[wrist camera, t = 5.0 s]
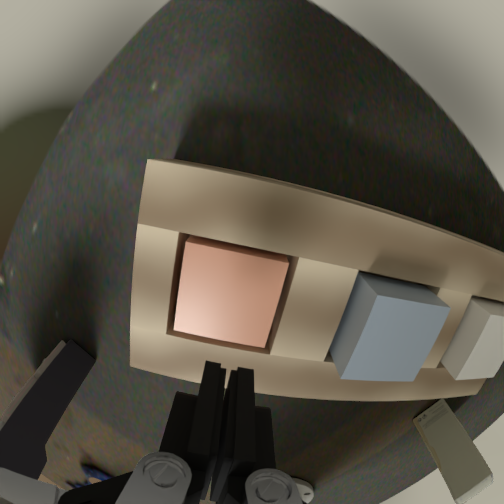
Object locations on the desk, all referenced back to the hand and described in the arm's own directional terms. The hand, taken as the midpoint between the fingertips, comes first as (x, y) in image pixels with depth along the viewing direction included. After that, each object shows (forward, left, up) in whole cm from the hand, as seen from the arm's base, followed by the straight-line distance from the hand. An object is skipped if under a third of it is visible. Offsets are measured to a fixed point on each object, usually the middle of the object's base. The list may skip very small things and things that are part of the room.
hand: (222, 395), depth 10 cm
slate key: (+1, -9, -7) cm, 11 cm away
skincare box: (-13, -26, -11) cm, 31 cm away
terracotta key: (+1, 0, -9) cm, 9 cm away
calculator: (-14, +14, -11) cm, 23 cm away
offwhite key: (+1, -18, -7) cm, 19 cm away
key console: (+1, -9, -11) cm, 14 cm away
